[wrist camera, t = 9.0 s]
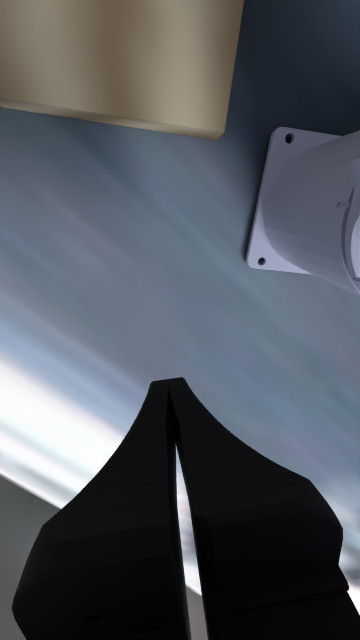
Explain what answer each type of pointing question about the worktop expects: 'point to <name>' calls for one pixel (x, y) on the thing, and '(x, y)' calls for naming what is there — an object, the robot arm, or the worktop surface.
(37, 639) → the robot arm
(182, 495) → the worktop surface
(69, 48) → the trap deck
